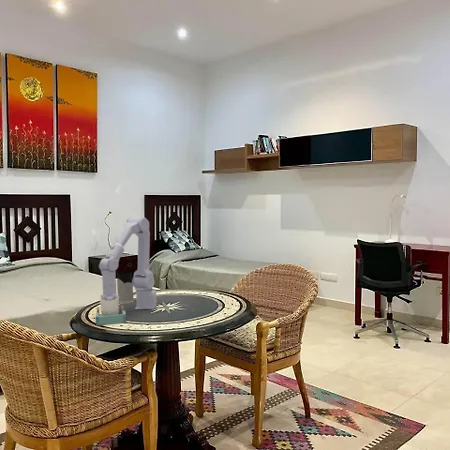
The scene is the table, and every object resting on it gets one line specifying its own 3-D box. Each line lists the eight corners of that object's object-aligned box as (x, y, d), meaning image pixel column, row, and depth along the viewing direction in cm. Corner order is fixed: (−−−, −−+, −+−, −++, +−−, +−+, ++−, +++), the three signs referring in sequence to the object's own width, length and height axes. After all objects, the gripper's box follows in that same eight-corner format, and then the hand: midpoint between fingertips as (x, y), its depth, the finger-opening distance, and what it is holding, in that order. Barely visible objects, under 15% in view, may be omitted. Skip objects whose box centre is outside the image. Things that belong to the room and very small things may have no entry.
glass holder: (114, 301, 232) (113, 273, 231) (139, 297, 241) (138, 269, 240) (121, 304, 225) (120, 275, 224) (146, 300, 234) (145, 271, 233)
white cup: (100, 323, 191) (98, 301, 189) (102, 315, 198) (100, 294, 196) (119, 322, 192) (118, 300, 190) (120, 314, 200) (119, 293, 197)
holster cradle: (123, 311, 211) (123, 304, 211) (124, 315, 203) (124, 308, 203) (97, 313, 208) (96, 307, 208) (96, 317, 200) (96, 311, 200)
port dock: (125, 317, 198) (125, 310, 198) (126, 322, 190) (125, 314, 190) (96, 320, 195) (95, 312, 195) (96, 325, 187) (95, 317, 187)
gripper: (100, 282, 204) (101, 312, 205) (99, 288, 190) (101, 320, 191) (116, 281, 206) (117, 310, 207) (116, 287, 192) (117, 318, 193)
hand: (110, 315), depth 199 cm, fingers closed, pressing on white cup
